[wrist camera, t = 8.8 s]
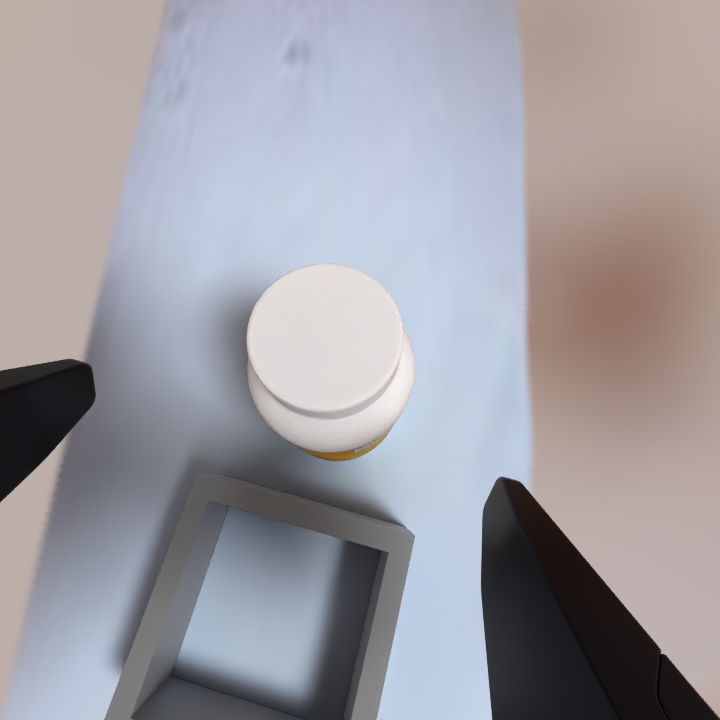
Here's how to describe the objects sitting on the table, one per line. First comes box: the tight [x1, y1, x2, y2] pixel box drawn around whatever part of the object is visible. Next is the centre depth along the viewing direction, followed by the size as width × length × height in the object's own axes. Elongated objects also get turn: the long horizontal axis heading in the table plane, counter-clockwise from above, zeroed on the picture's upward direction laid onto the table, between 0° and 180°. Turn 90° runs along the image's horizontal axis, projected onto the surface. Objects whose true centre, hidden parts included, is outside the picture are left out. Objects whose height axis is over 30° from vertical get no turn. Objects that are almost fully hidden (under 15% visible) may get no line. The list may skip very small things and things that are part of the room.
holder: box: [105, 473, 415, 720], centre depth 15 cm, size 9×9×3 cm
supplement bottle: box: [246, 264, 415, 461], centre depth 15 cm, size 5×5×10 cm
